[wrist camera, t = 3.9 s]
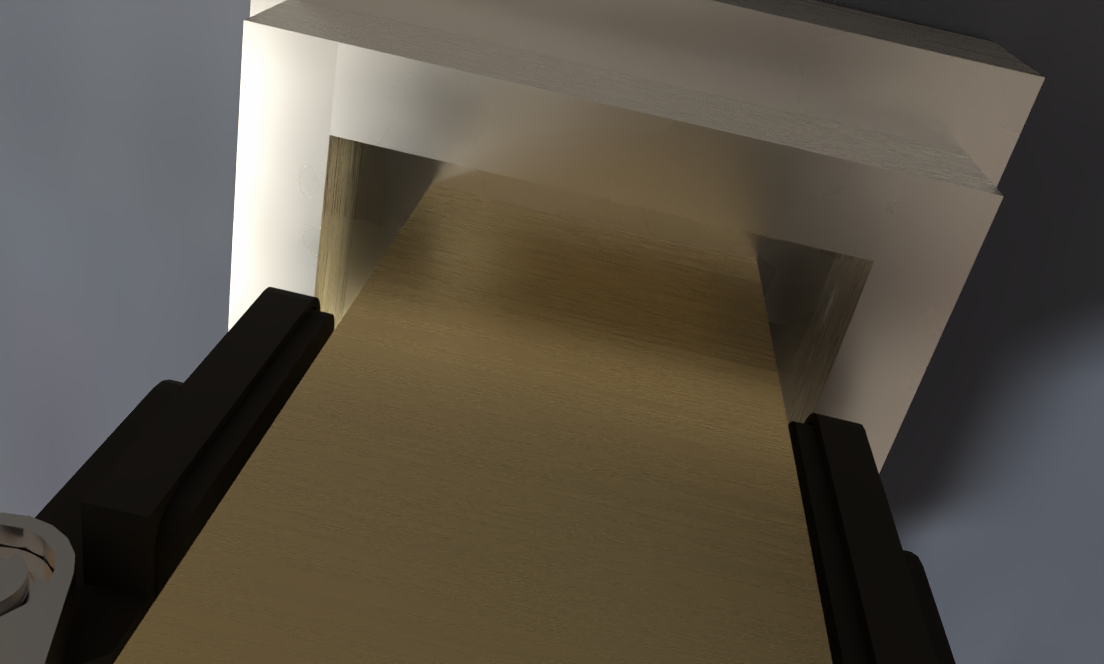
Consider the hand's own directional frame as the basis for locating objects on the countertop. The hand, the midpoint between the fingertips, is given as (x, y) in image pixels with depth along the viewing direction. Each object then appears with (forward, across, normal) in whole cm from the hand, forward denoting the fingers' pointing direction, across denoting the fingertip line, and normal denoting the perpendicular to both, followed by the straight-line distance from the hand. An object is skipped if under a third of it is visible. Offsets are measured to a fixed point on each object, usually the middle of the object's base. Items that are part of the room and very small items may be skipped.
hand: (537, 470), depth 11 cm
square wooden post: (+2, 0, 0) cm, 2 cm away
